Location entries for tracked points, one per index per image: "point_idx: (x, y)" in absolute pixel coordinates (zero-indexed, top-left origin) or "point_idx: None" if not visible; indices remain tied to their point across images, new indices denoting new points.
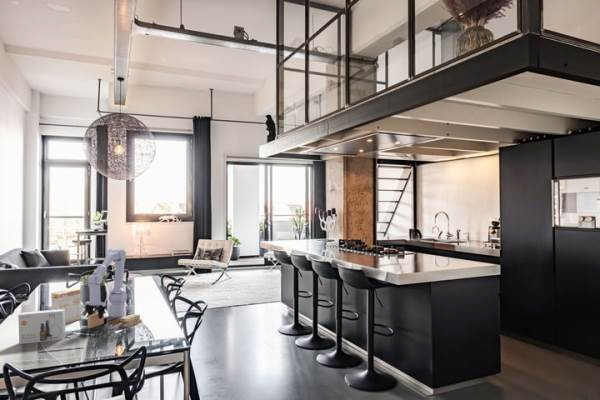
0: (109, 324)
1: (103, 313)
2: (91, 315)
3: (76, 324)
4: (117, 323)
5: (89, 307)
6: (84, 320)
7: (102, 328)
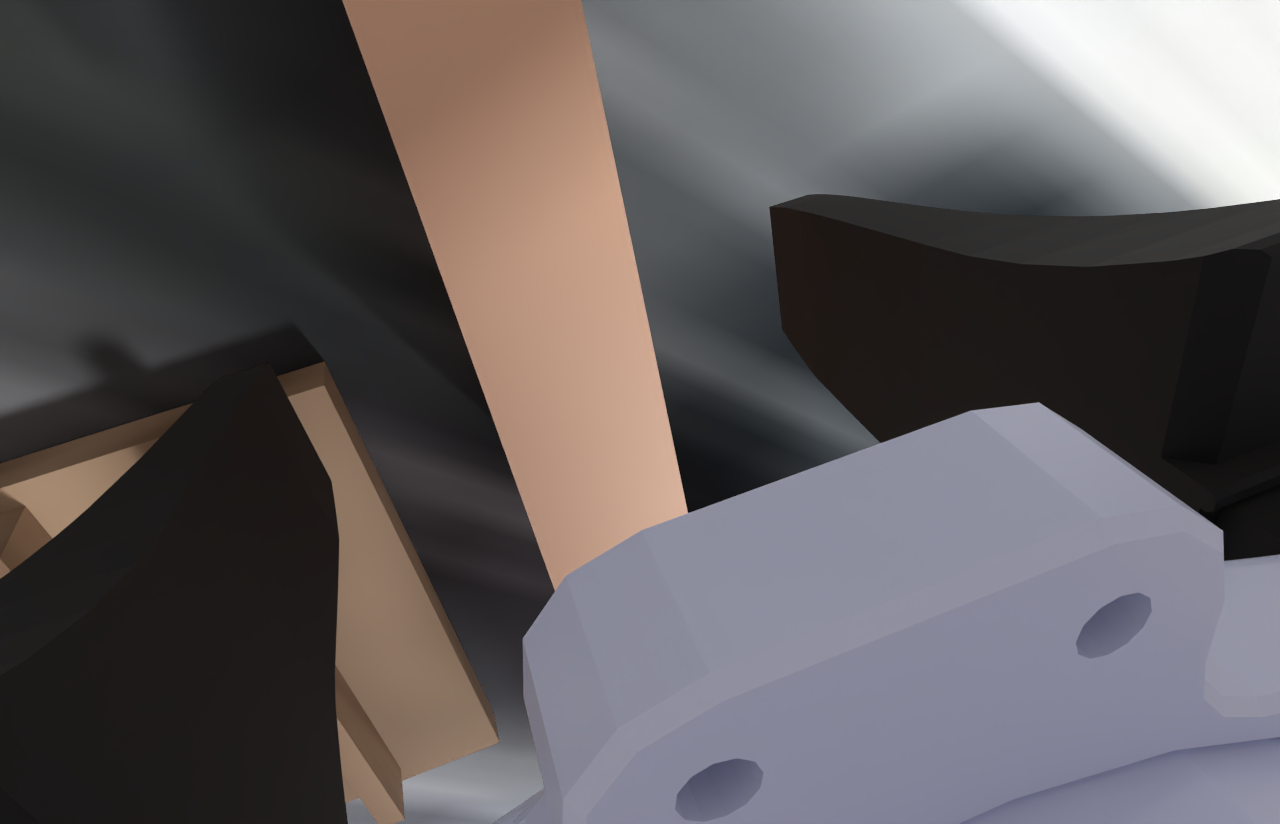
0: None
1: None
2: (490, 169)
3: (1217, 82)
4: None
5: (1109, 445)
6: None
7: (162, 264)
